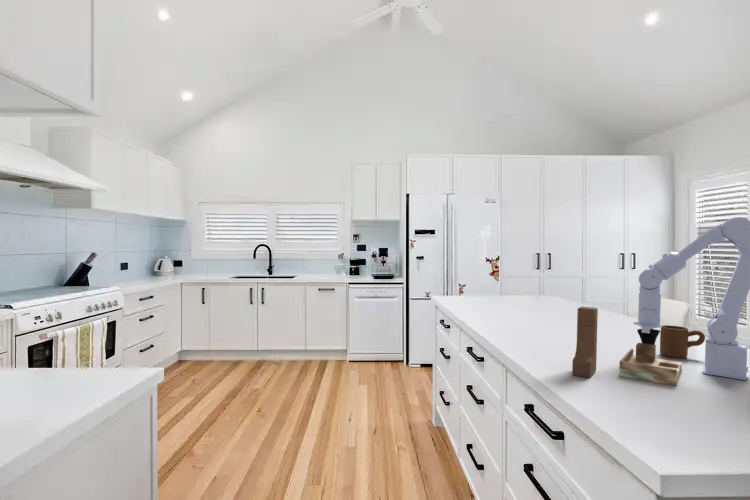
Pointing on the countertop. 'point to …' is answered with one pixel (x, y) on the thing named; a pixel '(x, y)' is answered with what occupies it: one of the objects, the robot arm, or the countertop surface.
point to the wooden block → (586, 342)
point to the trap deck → (650, 369)
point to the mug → (677, 341)
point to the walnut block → (645, 352)
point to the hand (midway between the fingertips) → (648, 353)
